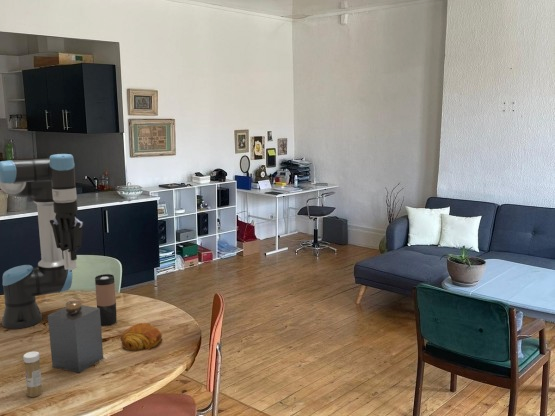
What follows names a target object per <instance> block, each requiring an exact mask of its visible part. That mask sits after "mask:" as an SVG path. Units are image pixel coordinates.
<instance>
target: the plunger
mask: <svg viewBox="0 0 555 416" xmlns="http://www.w3.org/2000/svg"><path fill="white" fill-rule="evenodd" d="M81 305H82V301H81V300H71V301H68V302H67V301H66V303H65V307H66V311H67V312H72V313H73V314H75V313H76V312H77V311H80V310H81V309H82V308H81Z"/></svg>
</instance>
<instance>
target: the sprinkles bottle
mask: <svg viewBox="0 0 555 416" xmlns="http://www.w3.org/2000/svg"><path fill="white" fill-rule="evenodd" d="M40 358H41V357H40V353H39V352H38V351H36V350H35V351H28V352H26V353H24V354H23V356H22V359H23V363H24V371H25V373H24V374H25V383H26V392H27V393H26V395H27V396H28V397H29V398H34V397H38V396H40V395H42V393H43V389H42V387H43V386H42V375H41V374H42V373H41V372H42V371H41V367H40Z"/></svg>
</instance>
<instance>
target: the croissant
mask: <svg viewBox="0 0 555 416" xmlns="http://www.w3.org/2000/svg"><path fill="white" fill-rule="evenodd" d="M162 335H163V334H162V332H161V331H160V330H159V329H158V328H157V327H155V326H154V325H152V324H151V323H146V322H145V323H142V322H140V323H137V324H133V325H132V326H130V327H129V328H128V329H126V330H125V331H124V332H122V335H121V337H120V341H121V344H122V346H123V348H124V349H126V350H130V351H132V350H133V351H135V350H136V351H137V350H140V351H141V350H149V349H152V348H154V347H156V346H157V345H159V343H160V342H161V340H162Z"/></svg>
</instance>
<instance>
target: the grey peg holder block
mask: <svg viewBox="0 0 555 416" xmlns="http://www.w3.org/2000/svg"><path fill="white" fill-rule="evenodd" d="M81 308H82V309H81V310H80V311H77V312H76V313H75V314H73V313H72V312H67V311H66V306H65V307H63V308H60V309H59V310H58V309H57V310H56V311H54V312H52V313H50V314H48V315H47V322H48V333H49V334H48V335H49V342H50V355H51V366H52V368H55V369H60V370H63V371H68V372H72V373H77V374H81V373H82V372H84V371H85V370H88V368H90V367H92V366H93V365H95V364H97V363H98V362H101V361H102V360H104V351H103V337H102V336H103V335H102V326H101V319H100V308H97V306H96V307H94V306H89V305H83V304H81Z"/></svg>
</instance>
